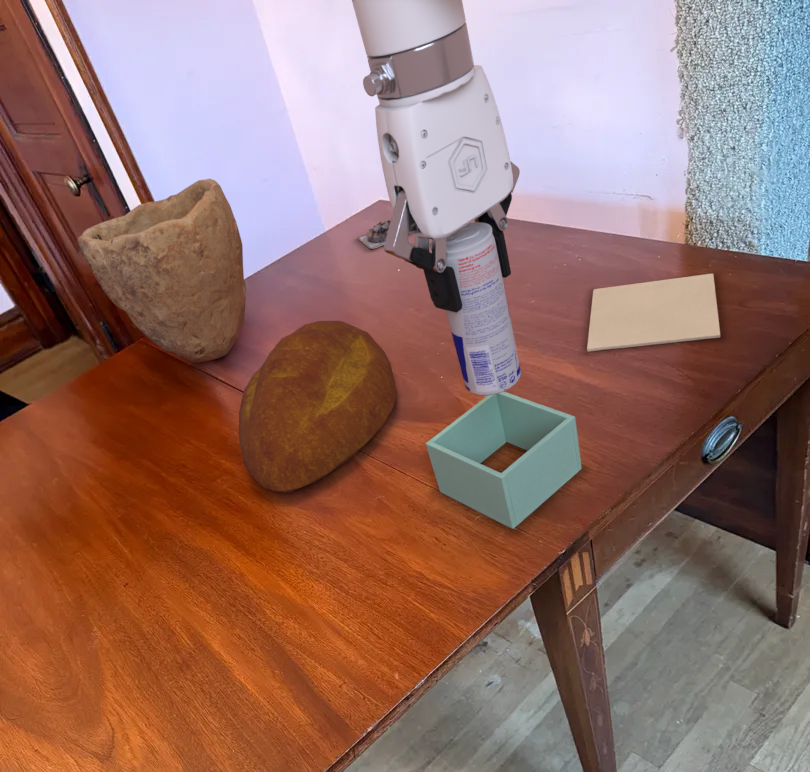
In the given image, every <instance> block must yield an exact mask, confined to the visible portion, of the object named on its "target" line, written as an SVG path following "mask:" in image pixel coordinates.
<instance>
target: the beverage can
mask: <svg viewBox="0 0 810 772" xmlns="http://www.w3.org/2000/svg"><path fill="white" fill-rule="evenodd" d="M429 251H430V252H432V240H431V241H430V242H429ZM446 266H449V267H452V268H453V269H454V272H455V276H456V280H457V285H458V289H459V293H460V297H461V301H462V309H461V310H460V311H458V312H457V313H456V312H452V311H448V310H445V314H446V317H447V321H448V324H449V325H448V326H449V329H450V332H451V337H452V340H453V344H454V348H455V352H456V356H457V359H458V363H459V368H460V372H461V375H462V379H463V383H464V387H465V389H466V390H467V391H468V392H470V393H472V394H474V395H478V396H488V395H494V394H498V393H501V392H503V391H504V392H507V391H508V390H509V389H511V388H512V387H514V386H515V385H516V384H517V382H518V381H519V380H520V379H521V376H522V370H521V365H520V360H519V355H518V350H517V349H518V348H517V346H516V344H517V343H516V339H515V335H514V330H513V329H514V328H513V325H512V319H511V313H510V309H509V305H508V298H507V293H506V289H505V283H504V278H503V277H502V273H501V268H500V263H499V258H498V253H497V248H496V242H495V238H494V236H493V234H492V227H491V226H490V225H489V224H487V223H481V222H475V221H474V222H470V223H469V224H467V225H466V226H464V227H463V228H461V229H459V230H458V231H456V232H455V233H453V234H451V235H450V236H448V237H447V265H446Z"/></svg>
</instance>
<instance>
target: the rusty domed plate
mask: <svg viewBox="0 0 810 772" xmlns="http://www.w3.org/2000/svg"><path fill="white" fill-rule="evenodd" d="M390 222H391V220H387V221H385V220H384V221H379V222H378V223H376V224H375V225H373V226H372V227H371V228H369V229H368V230H367V233H366V234H365V235H362V236H360V237H358V240H359V241H360V242H361V243H362V244H363V245H364V246H366V248H367V249H369V250H370V249H372V250H375V249H377V248H380V247H382V246H383V247H384V244H385V240H386V237H387V233H388V229H389V225H390Z"/></svg>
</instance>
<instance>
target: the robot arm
mask: <svg viewBox="0 0 810 772" xmlns="http://www.w3.org/2000/svg"><path fill="white" fill-rule="evenodd" d="M351 2H352V6H353V9H354V13H355V17H356V18H355V19H356V21H357V25H358V29H359V32H360V36H361V40H362V44H363V47H364V52H365V55H366V59H367V63H368V67H369V71H370V72H369V74H368V75H366V76H364V77H363V80H362V85H363V89H364V91H365V93H366V94H367V95H368V96H369V97H374V96H377V99H378V103H379V104H378V105H376V106H375V107H374V112H375V114H374V115H375V124H376V125H375V127H376V134H377V143H378V149H379V155H380V161H381V167H382V171H383V177H384V182H385V187H386V191H387V196H388V199H389V202H390V206H391V210H392V215H391V218H390V221H391V222H390V225H389V229H388V233H387V237H386V240H385V244H384V245H383V249H384V253H386V254H389V255H391V256H393V257H395V258H398V259H401V260H403V261H405V262H407V263H408V264H411V265H413V266H414V267H416V268H417V269H419V270H423V273H424V277H425V282H426V285H427V289H428V293H429V295H430V299H431V301H432V303H433V306H434V308H437V309H440V310H443V311H446V310H448V311H452V312H456V313H457V312H458V311H460V310H461V309H462V301H461V297H460V293H459V289H458V285H457V280H456V276H455V272H454V269H453V268H452V267H449V266H446V265H447V237H448V236H450V235H451V234H453V233H455V232H456V231H458V230H459V229H461V228H463V227H464V226H466V225H467V224H469V223H473V222H474V223H475V222H481V223H487V224H489V225H490V226H491V227H492V234H493V236H494V238H495V242H496V248H497V253H498V258H499V263H500V268H501V273H502V278H503V279H506V278H508V277H510V276H511V274H512V270H511V265H510V259H509V254H508V248H507V244H506V238H505V233H504V231H506V230H507V228H508V226H509V219H508V212H509V209H510V206H511V203H512V200H513V195H512V193H514V190H515V188H516V185H517V183H518V179H519V177H520V171H521V170H520V168H519V167H518V166H517V165H516V164H515V163H513V162H512V161H511V157H510V152H509V148H508V143H507V140H506V135H505V131H504V127H503V122H502V119H501V115H500V111H499V109H498V105H497V102H496V99H495V95H494V93H493V91H492V88H491V85H490V82H489V80H488V77H487V75H486V73H485V71H484V68H483V66H482V65H479V64H475V63H474V58H473V53H472V52H473V51H472V47H471V41H470V35H469V31H468V26H467V21H466V20H467V19H466V14H465V9H464V4H463V0H351ZM412 234H414V244H412V243H411V242H410V241H409V235H412ZM430 240H431V241H432V251H430Z"/></svg>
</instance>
